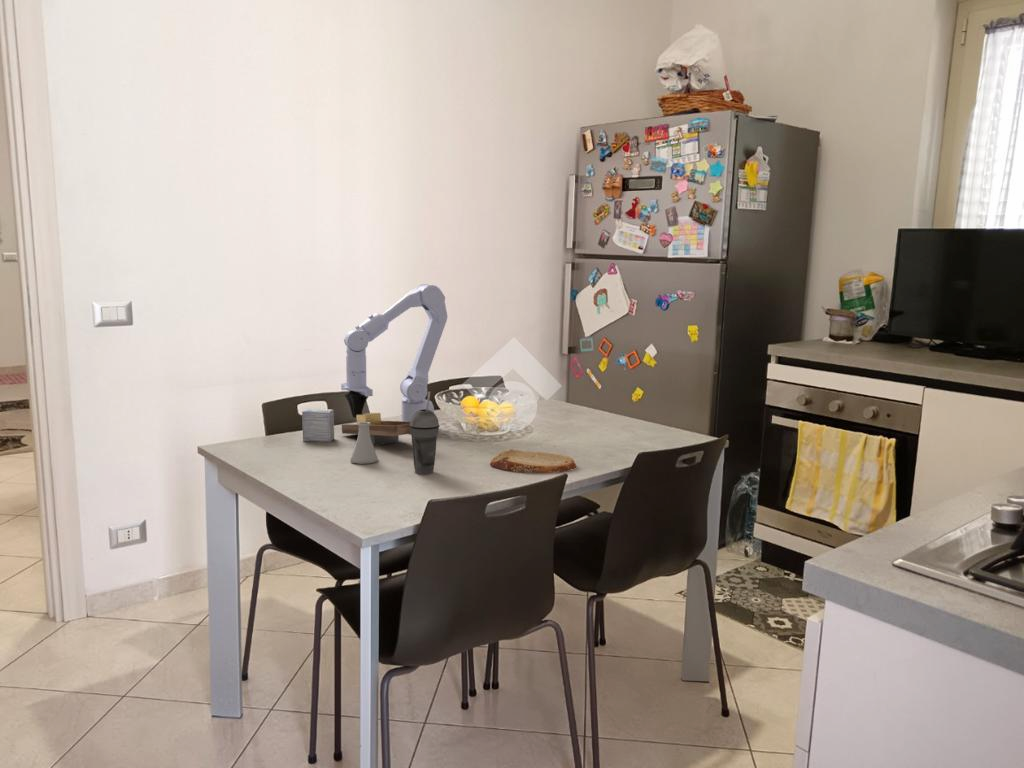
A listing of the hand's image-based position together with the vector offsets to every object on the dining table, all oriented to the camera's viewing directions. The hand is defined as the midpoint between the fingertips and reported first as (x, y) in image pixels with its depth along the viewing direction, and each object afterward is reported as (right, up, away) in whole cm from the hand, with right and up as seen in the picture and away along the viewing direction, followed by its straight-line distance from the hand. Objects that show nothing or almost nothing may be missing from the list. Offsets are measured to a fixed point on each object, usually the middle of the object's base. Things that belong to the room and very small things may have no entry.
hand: (356, 417), depth 236 cm
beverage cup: (+24, -12, -40) cm, 48 cm away
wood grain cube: (+5, -3, -5) cm, 7 cm away
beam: (+10, -4, -11) cm, 15 cm away
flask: (+8, -10, -30) cm, 33 cm away
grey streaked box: (-9, -6, -8) cm, 14 cm away
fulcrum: (+10, -7, -10) cm, 16 cm away
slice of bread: (+51, -12, -32) cm, 61 cm away
